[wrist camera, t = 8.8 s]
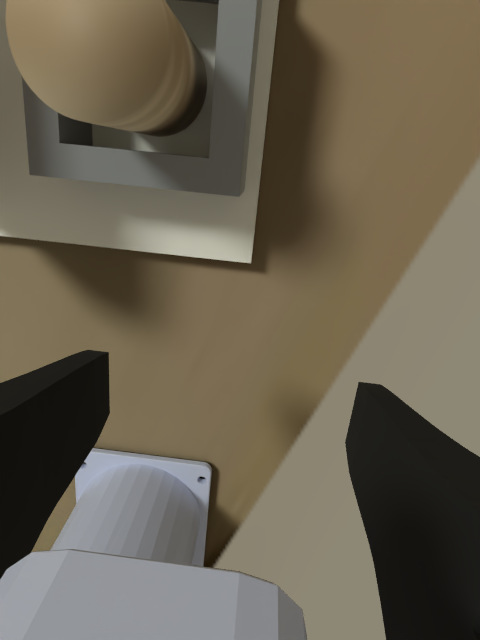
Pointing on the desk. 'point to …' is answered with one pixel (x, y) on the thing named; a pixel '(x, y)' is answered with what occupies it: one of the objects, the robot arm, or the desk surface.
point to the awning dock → (147, 152)
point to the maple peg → (109, 62)
